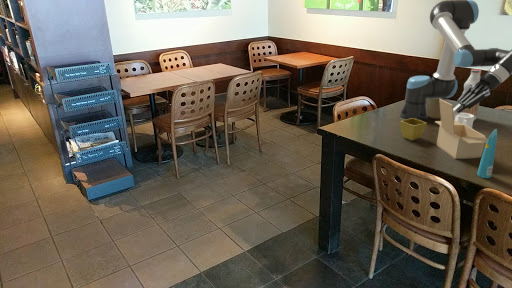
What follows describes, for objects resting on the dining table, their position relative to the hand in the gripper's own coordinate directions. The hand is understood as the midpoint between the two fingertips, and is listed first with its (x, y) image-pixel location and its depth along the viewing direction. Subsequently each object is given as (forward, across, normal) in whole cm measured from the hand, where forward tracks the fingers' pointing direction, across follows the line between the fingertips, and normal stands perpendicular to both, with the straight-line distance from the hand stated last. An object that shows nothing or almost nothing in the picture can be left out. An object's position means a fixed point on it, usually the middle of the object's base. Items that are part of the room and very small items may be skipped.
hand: (449, 116), depth 167 cm
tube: (+10, +24, +14) cm, 30 cm away
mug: (-2, -21, +28) cm, 34 cm away
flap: (+5, 0, +5) cm, 7 cm away
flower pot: (+17, -18, +8) cm, 26 cm away
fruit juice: (-15, -44, +40) cm, 61 cm away
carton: (+7, 0, +17) cm, 19 cm away
